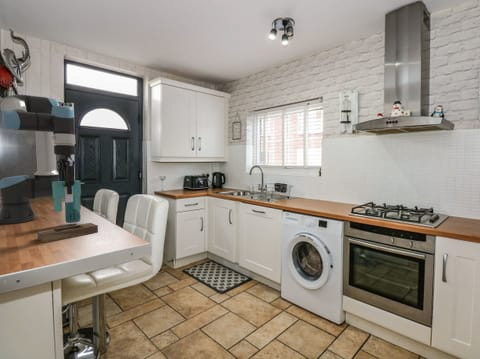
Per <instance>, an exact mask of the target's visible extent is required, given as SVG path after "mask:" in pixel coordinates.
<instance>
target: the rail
mask: <svg viewBox="0 0 480 359" xmlns="http://www.w3.org/2000/svg"><path fill="white" fill-rule="evenodd" d="M36 233H37V240H39V241H40V242H42V243H43V244H45V243H46V244H47V243H49V242H55V241H60V240H64V239H71V238H76V237H82V236H86V235H90V234H96V233H99V225H98V224H96V223H95V224H94V223H93V222H87V223H80V224H75V225H70V226H69V225H68V226H63V227H56V228H50V229H46V230H45V229H44V230H39V231H37V232H36Z"/></svg>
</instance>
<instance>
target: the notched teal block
mask: <svg viewBox="0 0 480 359" xmlns="http://www.w3.org/2000/svg"><path fill="white" fill-rule="evenodd" d="M81 183H82V182H81V180H75V184H74V185H73V186H72V187H73V201H74V209H80V210H81V208H82V206H81V204H82V203H81V195H82V188H81V187H82V185H81ZM63 185H65V181H59V182H52V189H53V204H54V212H57V213H58V212H62V211H63V206H62V203H63V202H62V197H63V196H65V188H64V186H63Z"/></svg>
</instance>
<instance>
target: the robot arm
mask: <svg viewBox="0 0 480 359" xmlns="http://www.w3.org/2000/svg"><path fill="white" fill-rule="evenodd" d="M0 110H1V117H2V118H1V119H2V126H3V128H4V129H5V130H12V131H29V132H34V133H35V146H36V147H35V149H36V150H35V151H36V171H35V172H34V173H33V177H30V175H28V174H24V175H23V174H22V175H14V176H9V177H3V178H2V179H0V202H1V203H0V204H1V207H0V208H1V209H0V224H1V225H3V224H4V225H5V224H6V225H7V224H8V225H9V224H10V225H11V224H18V223H19V224H20V223H27V222H31V221H34V220H36V217H37V216H36V213H35V211H34V209H33V207H32V203H31V200H38V199H52V198H53V199H54V197H53V189H52V182H59V181H65V185H63V186H64V188H65V196H63V197H61V202H62V203H64V204H65V203H67V202H73V187H72V186H73V185H74V184H75V181H76V179H75V162H76V161H75V160H73V157H72V156H73V155H74V156H75V155H76V154H77V150H76V144H77V143H76V133H75V132H76V131H75V129H76V128H75V112H74V109H73V108H72V107H70V106H64V105H60V104H59V101H58V100H56V99H55V98H53V97H52V98H50V97H45V96H39V95H38V96H36V95H30V94H29V95H28V94H12V95H8V96H5V97H4V98H3V99H2V100H0ZM57 155H58V156H59V159H58V160H57Z"/></svg>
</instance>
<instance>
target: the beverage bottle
mask: <svg viewBox="0 0 480 359" xmlns="http://www.w3.org/2000/svg"><path fill="white" fill-rule="evenodd" d="M64 212H65V213H64V216H65V223H67V224H72V223H79V222H80V221H81V209H74V201H73V202H67V203H65V202H64Z"/></svg>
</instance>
